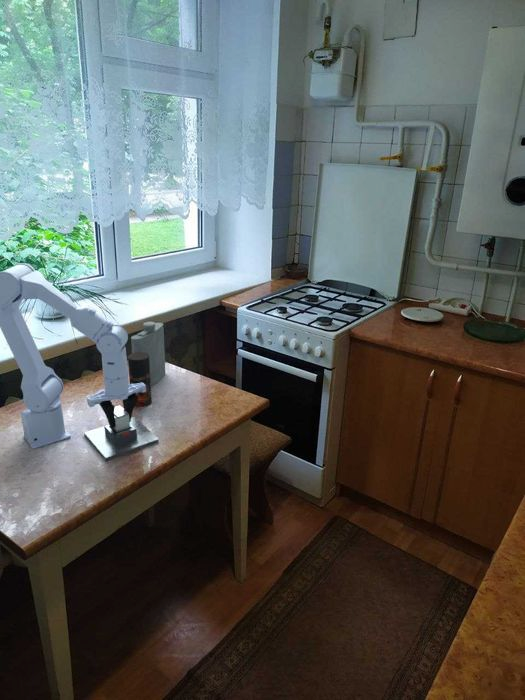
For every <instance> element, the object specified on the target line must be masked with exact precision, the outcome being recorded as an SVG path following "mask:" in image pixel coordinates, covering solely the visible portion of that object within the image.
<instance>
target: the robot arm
mask: <svg viewBox="0 0 525 700" xmlns="http://www.w3.org/2000/svg"><path fill="white" fill-rule="evenodd" d="M23 300H40V301H41V302H43V303H45V304H46V305H48V306H49V307H51V308H53V309H55V310H56V311H57V312H59V313H61V314H62V315H64V316H65V317H67V318H68V319H69V322H70V325H71V327H72V328H74V329H76V331H78V332H79V333H81V334H83V335H84V336H85V337H87V338H88V339H89V340H90V341H92V342H93V343H95V345H96V349H97V350H98V352H99V353H100V354H101V362H102V365H101V366H102V373H103V374H102V375H103V383H104V384H103V385H104V389H103V390H100V391H99V392H97V393H94V394H93V395H90V396H87V397H86V403H87V405H88V407H89V408H94V407H95V406H96V405H99V406H100V408H101V409H102V411H103V412H104V415H105V416H106V419H107V422H108V425H110V426H111V427H112V428H113V427H115V420H114V409H115V407H116V406H115V405H113V402H112V401H113V400H114V401H115V400H116V401H117V400H119V401H122V404H123V405H122V406H123V409H124V410H126V411H127V412H128V413H129V422H131V418H132V415H133V411H134V409H135V408H136V407H135V405H136V403H137V402H138V397H137V396H136V393H139V392H142V393H143V392H146V385H145V384H144V383H137V384H130V382H129V368H128V356H127V351H126V350H127V349H126V346H125V345H126V344H127V342H128V340H129V334H128V332H127V330H126V328H124V327H123V325H122V324H118V323H113V322H112V321H108V320H106V319H105V318H104V317H102V316H101V315H99V314H98V313H97V310H96V309H95V308H93V307H91V308H90V307H89V306H79V305H78V304H77V303H75V302H74V301H72V300H71V299H70V298H69V297H68V296H66V295H65V294H64V293H63V292H61V291H60V290H59V289H58V288H57V287H55V286H54V285H53V284H51V283H50V282H49V281H48V280H47V278H45V277H44V275H43V273H42V272H40V271H38V270H35V268H34V267H32V266H31V265H30V264H28V263H24V262H20V263H16V264H15V265H13V266H12V267H9V268H7V269H4V270H2V271H0V330H1V333H2V335H3V336H4V339H5V341H6V343H7V345H8V347H9V350H10V351H11V353H12V355H13V357H14V359H15V362H16V363H17V366H18V368H19V369H20V372H21V374H22V379H21V383H20V389H21V391H22V395H23V397H22V401H23V404H24V406H25V407H26V408H25V409H23V410H21V411H20V418H21V423H22V424H21V425H22V429H23V436H24V438H25V440H26V441H27V443H28V444H29V446H30V448H31V449H32V450H33V449H38V448H41V447H44V446H48V445H50V444H54V443H57V442H60V441H62V440H63V441H64V440H66V439H67V440H68V439H70V438H71V436H72V435H71V433H70V432H69V431H68V430H67V429H66V428H65V421H64V414H63V406H62V400H61V394H62V393H63V391H64V388H65V387H64V382H63V380H62V379H61V378H60V377H59V376H58V375H57V373H55V371H54V369H53V368H51V367H49V366H47V365H46V364H45V362H44V359H43V357H42V356H41V353H40V351H39V349H38V347H37V344H36V342H35V340H34V338H33V336H32V334H31V331H30V328H29V327H28V324H27V322H26V320H25V318H24V315H23V314H22V312H21V311H22V310H20V305H21V304H22V301H23Z"/></svg>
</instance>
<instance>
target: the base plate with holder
mask: <svg viewBox="0 0 525 700" xmlns="http://www.w3.org/2000/svg"><path fill="white" fill-rule="evenodd" d="M83 434H84V437H85V439H87V441H88V442H89V443H90V444H91V445H92V447H93V448H94V449H95V450H96V451H97V453H98V454H99V455H100V456H101V457H102V458H103V459H104V461H105V462H108V461H111V460H113V459H116V458H119V457H122V456H125V455H128V454H131V453H134V452H136V451H138V450H142V449H145V448H148V447H150V446H153V445H156V444H158V443H159V441H160V440H159V438H158V437H157V436H156V435H155V434H154V433H152V432H151V430H150V429H148V428H147V426H145V425H144V424H143V423H142V422H141V421H140V420H138V418H136V416H133V417H131V422H130V429H129V430H126V431H123V432H120V433H117V434H115V433H114V432H113V430H112V429H111V426H110V425H109V424H106V425H104V426H101V427H97V428H95V429H90V430H87V431H84V433H83Z"/></svg>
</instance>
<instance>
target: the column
mask: <svg viewBox="0 0 525 700" xmlns="http://www.w3.org/2000/svg"><path fill="white" fill-rule="evenodd" d="M114 420H115V427H113V428H112V427H111V429H112V430H113V432H114V433H115V434H117V433H120V432H123V431H126V430H129V429H130V422H129V413H128V412H127V411H126V410H124V407H122V406H121V405H116V406H115V409H114Z"/></svg>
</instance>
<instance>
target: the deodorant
mask: <svg viewBox="0 0 525 700" xmlns="http://www.w3.org/2000/svg"><path fill="white" fill-rule="evenodd" d="M127 367H128V381H129V384H137V383H144V384H145V385H146V392H143V393H142V392H139V393H136V396H137V397H138V402H137V403H136V405H135V407H134V408H138V409H139V408H141V407H142V408H146V407H149V406H151V405H152V401H153V398H152V397H153V396H152V387H151V379H150V361H149V354H148V353H145V352H135V353H132V352H131V353H130V354H128V355H127ZM142 408H141V409H142Z"/></svg>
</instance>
